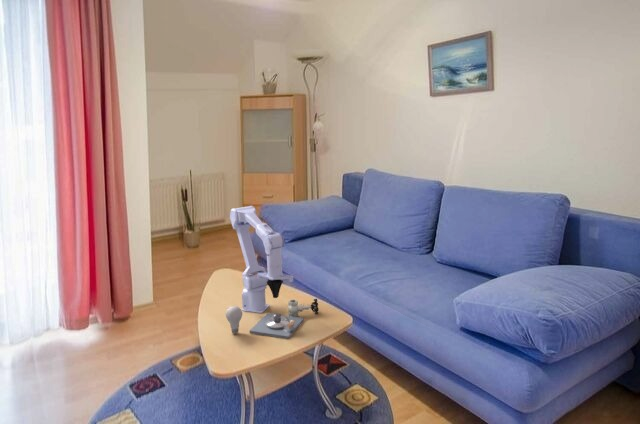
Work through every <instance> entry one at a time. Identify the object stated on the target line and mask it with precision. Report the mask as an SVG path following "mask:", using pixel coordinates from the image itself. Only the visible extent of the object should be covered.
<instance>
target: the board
mask: <svg viewBox="0 0 640 424" xmlns="http://www.w3.org/2000/svg"><path fill="white" fill-rule="evenodd" d="M273 314H274V313H266V314H265V315H264V316H263V317H262V318H261V319H260V320H259V321H258V322H257V323H256V324H255V325H254V326H253V327H251V329H250V330H249V334H252V335H253V334H254V335H260V336H267V337H274V338H278V339H279V338H280V339H287V340H290V338H291V337H292V336H293V335H294V333H295V332H296V331H297V329H298V328H299V327H300V326H301V325H302V324H303V323H304V322H305V318H304V317H299V316H297V317H292V316H289V315H286V314H285V315H283V314H281V316H283V317H286V318H288V319H289V322H290V323H291V322H292V323H294V331H291V332H288V331H286V330H284V329H282V328H280V329H272V328H269V327H267V326H266V320H267V319H268V318H270V317H273Z"/></svg>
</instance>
